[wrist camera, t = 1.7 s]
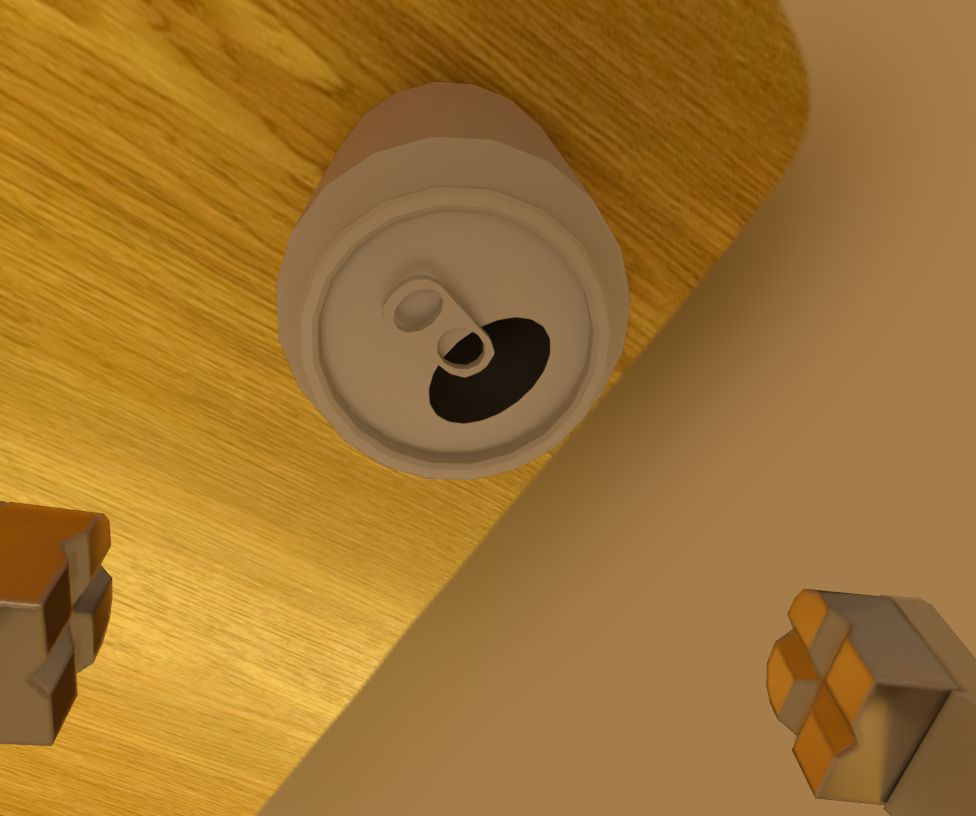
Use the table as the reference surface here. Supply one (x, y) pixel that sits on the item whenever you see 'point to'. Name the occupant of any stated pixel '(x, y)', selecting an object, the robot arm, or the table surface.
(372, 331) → the can
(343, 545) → the table surface
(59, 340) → the table surface
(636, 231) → the table surface
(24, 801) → the table surface
